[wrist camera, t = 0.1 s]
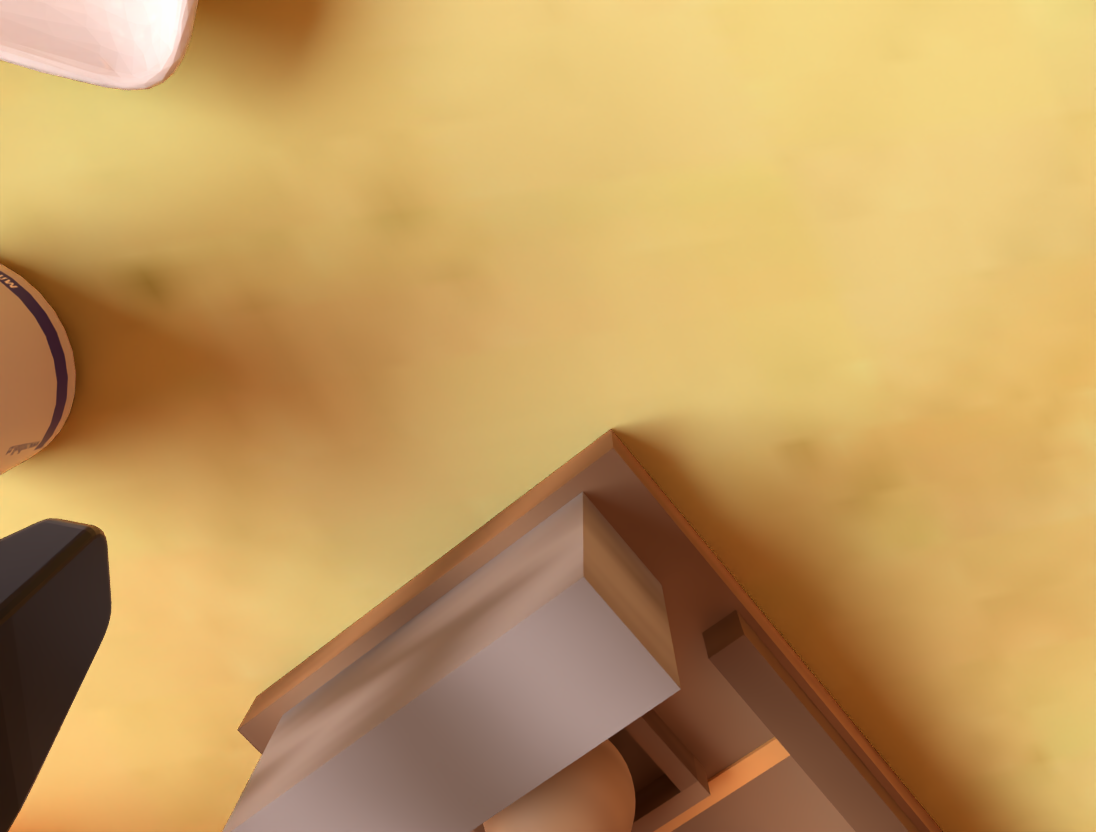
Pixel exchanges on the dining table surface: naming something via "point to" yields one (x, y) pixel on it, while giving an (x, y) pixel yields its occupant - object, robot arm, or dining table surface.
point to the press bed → (708, 674)
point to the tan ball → (576, 798)
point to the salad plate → (98, 39)
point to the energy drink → (31, 371)
